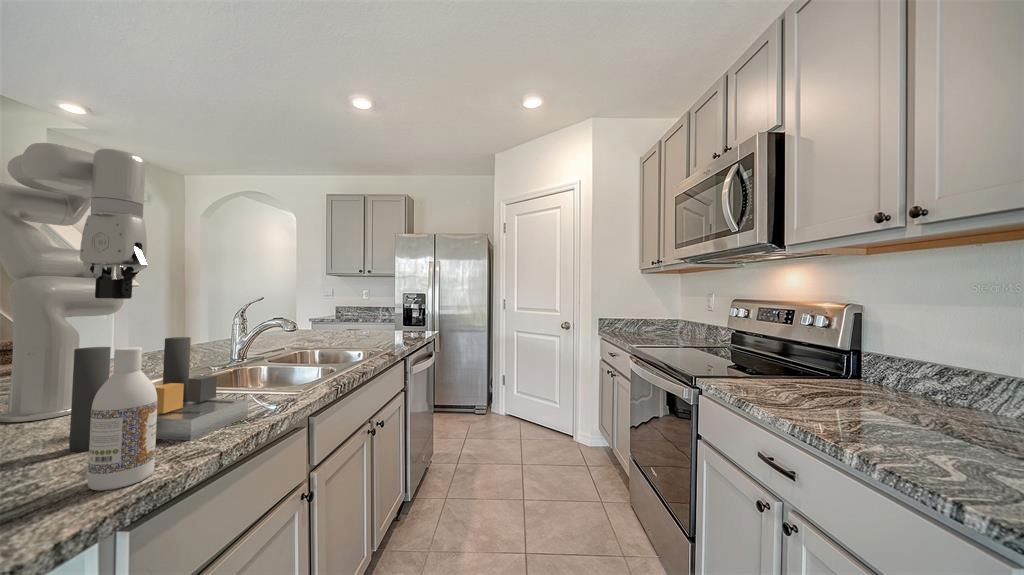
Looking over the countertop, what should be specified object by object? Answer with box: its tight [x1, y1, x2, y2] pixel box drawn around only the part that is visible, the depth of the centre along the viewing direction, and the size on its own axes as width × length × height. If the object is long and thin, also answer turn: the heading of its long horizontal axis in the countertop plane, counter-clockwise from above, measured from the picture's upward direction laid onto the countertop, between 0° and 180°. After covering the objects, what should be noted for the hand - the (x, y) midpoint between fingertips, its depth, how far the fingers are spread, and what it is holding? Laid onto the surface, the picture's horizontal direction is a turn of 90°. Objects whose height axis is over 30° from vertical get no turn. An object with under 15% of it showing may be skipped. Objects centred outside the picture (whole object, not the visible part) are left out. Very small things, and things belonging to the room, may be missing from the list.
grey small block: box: [187, 374, 218, 402], centre depth 83 cm, size 3×4×5 cm
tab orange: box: [154, 383, 184, 413], centre depth 75 cm, size 3×4×5 cm
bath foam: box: [87, 346, 158, 491], centre depth 56 cm, size 7×7×20 cm
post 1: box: [68, 346, 112, 453], centre depth 67 cm, size 4×4×18 cm
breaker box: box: [156, 397, 249, 441], centre depth 78 cm, size 12×14×4 cm
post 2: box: [162, 336, 192, 402], centre depth 84 cm, size 4×4×18 cm
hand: (113, 297), depth 77 cm, fingers open, 3 cm apart
